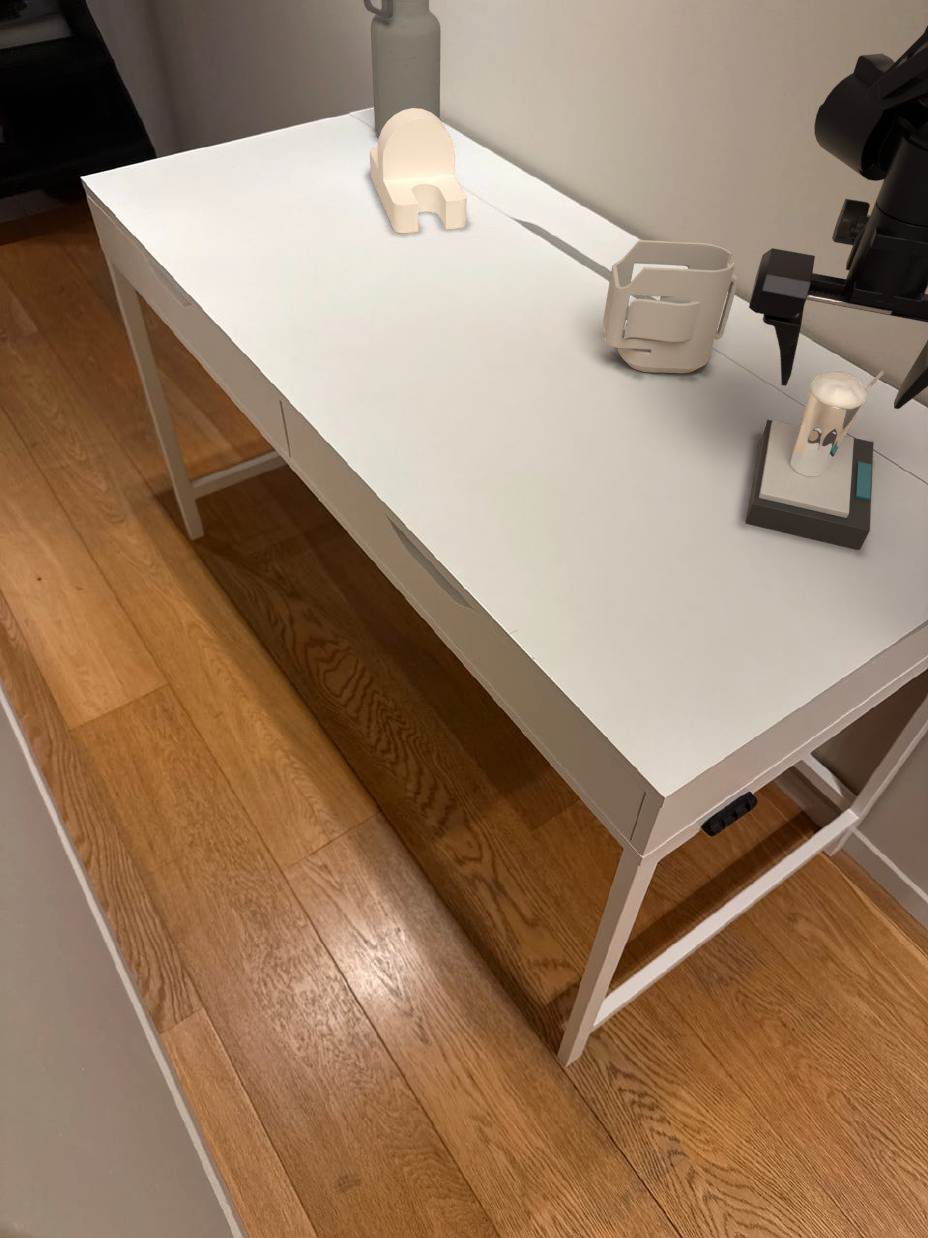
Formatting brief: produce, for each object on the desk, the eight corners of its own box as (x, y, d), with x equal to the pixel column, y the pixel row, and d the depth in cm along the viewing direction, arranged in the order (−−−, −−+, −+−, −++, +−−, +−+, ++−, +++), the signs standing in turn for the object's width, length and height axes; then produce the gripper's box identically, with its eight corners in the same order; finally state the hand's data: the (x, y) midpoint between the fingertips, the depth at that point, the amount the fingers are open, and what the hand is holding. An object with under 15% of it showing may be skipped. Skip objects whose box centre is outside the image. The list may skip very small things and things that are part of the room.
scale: (864, 461, 86) (876, 436, 84) (859, 550, 78) (872, 525, 75) (760, 438, 88) (769, 413, 85) (745, 523, 79) (754, 498, 77)
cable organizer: (598, 343, 98) (615, 237, 89) (709, 349, 98) (738, 243, 89) (601, 378, 94) (620, 271, 84) (719, 384, 94) (750, 277, 84)
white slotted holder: (435, 169, 126) (436, 85, 118) (467, 227, 115) (470, 139, 107) (369, 174, 124) (365, 89, 116) (395, 233, 113) (393, 144, 105)
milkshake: (848, 482, 79) (892, 387, 71) (788, 481, 79) (827, 386, 71) (833, 450, 82) (875, 355, 74) (776, 449, 82) (812, 354, 74)
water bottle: (398, 153, 129) (392, -87, 108) (360, 131, 134) (347, -103, 113) (452, 137, 134) (457, -97, 112) (413, 116, 138) (411, -112, 117)
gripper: (1046, 184, 66) (952, 366, 78) (792, 144, 69) (739, 324, 81) (1062, 252, 59) (956, 440, 71) (780, 204, 62) (723, 391, 74)
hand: (839, 394), depth 74 cm, fingers open, 9 cm apart
